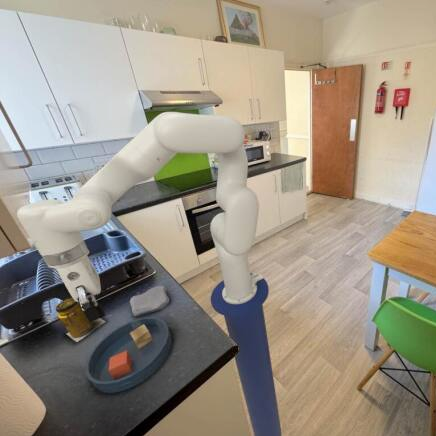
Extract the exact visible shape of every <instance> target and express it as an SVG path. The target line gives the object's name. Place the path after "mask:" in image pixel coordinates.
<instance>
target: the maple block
mask: <svg viewBox="0 0 436 436" xmlns="http://www.w3.org/2000/svg"><path fill="white" fill-rule="evenodd" d="M130 334H131V336H132V338H133V340H134V342H135V344H136V345H137V347H138V348H139V349H140V348H141V347H143V346H144V345H146V344H147V343H149V342H150V341H152V340H153V339H152V337H151V335H150V333H149V331H148V329H147V328H146V326H145V325H144V324H143V325H142V326H140V327H138V328H137V329H135V330H134V331H132V332H130Z"/></svg>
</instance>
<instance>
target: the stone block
mask: <svg viewBox="0 0 436 436" xmlns="http://www.w3.org/2000/svg"><path fill="white" fill-rule="evenodd" d="M129 304H130V307H131V314H132V315H133V316H134V317H139V316H142V315H146V314H150V313H154V312H156V311H159V310H163V309H164V308H165V307H166V306H168V305H169V304H170V298H169V296H168V294H167V291H166V288H165V286H164V285H156V286H154V287H152V288H150V289H148V290H146V291H145V292H143V293H141V294H138V295H137V294H136V295H134V296H132V297H131V298H130V300H129Z"/></svg>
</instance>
